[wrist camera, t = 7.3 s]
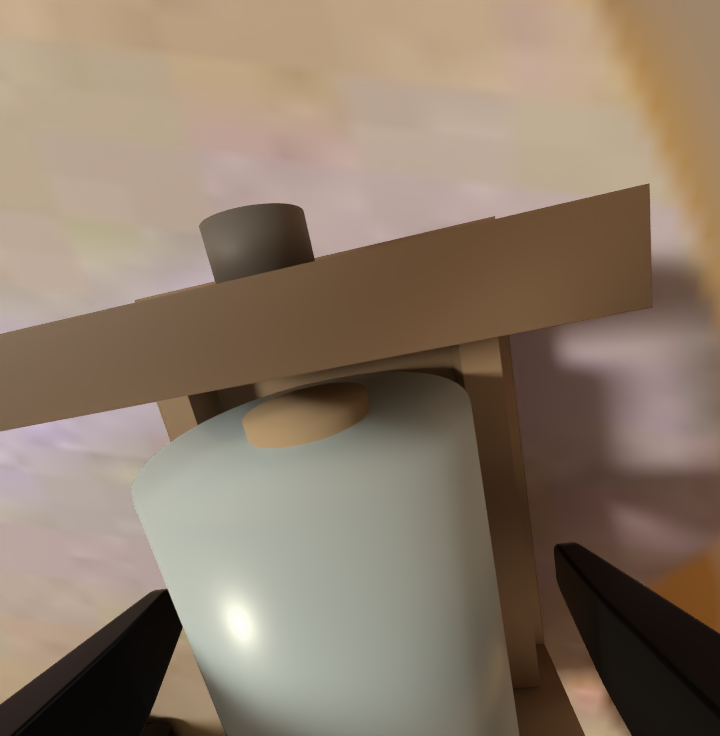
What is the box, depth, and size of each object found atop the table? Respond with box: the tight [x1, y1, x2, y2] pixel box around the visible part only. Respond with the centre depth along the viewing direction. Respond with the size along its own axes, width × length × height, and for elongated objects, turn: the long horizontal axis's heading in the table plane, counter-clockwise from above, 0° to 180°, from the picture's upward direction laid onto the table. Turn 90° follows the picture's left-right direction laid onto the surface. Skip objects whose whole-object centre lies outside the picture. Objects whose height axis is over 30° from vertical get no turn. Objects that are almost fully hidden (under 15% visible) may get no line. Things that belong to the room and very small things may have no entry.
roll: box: [131, 372, 519, 736], centre depth 7 cm, size 9×6×6 cm, turn 12°
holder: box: [0, 184, 652, 736], centre depth 8 cm, size 15×9×6 cm, turn 12°
